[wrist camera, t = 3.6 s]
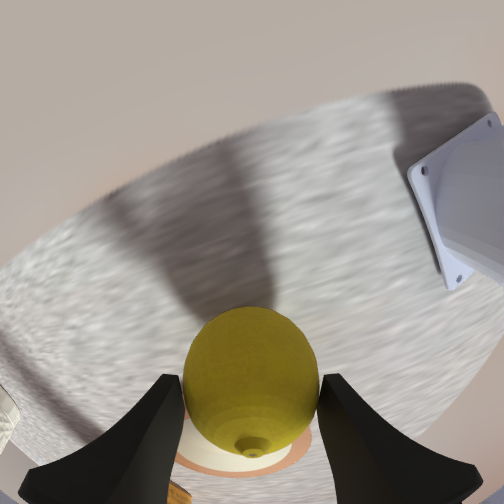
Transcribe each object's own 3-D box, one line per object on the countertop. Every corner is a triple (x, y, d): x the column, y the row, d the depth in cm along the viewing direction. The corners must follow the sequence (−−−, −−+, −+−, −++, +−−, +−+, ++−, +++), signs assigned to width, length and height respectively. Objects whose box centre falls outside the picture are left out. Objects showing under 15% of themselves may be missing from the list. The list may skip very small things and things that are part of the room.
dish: (254, 359, 15) (254, 371, 14) (332, 441, 18) (335, 450, 17) (124, 414, 17) (120, 423, 16) (218, 477, 20) (218, 485, 19)
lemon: (180, 334, 14) (140, 452, 7) (238, 258, 13) (228, 371, 6) (259, 378, 16) (266, 494, 8) (321, 315, 14) (374, 431, 7)
